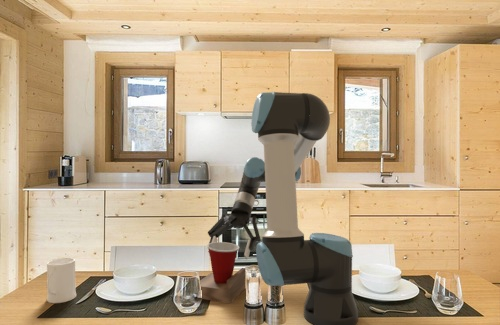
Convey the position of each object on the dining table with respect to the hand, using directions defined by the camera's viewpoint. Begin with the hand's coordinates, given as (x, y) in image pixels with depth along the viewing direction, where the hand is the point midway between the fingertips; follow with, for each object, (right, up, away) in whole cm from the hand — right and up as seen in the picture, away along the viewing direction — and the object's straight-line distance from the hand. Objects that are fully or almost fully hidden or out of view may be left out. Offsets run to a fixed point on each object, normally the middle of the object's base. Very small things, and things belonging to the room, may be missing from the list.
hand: (227, 255), depth 127 cm
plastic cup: (-1, -7, -6) cm, 9 cm away
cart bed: (-2, -11, -6) cm, 13 cm away
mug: (-53, -11, -12) cm, 56 cm away
